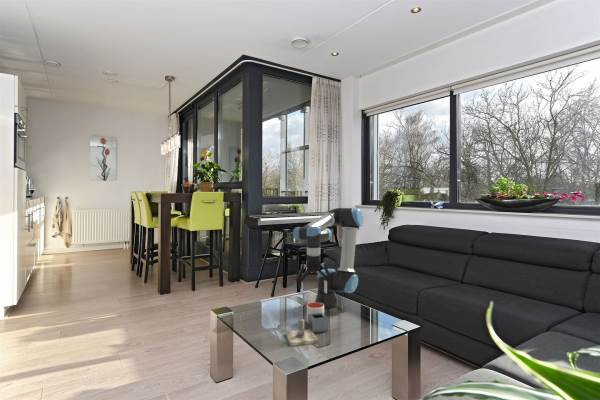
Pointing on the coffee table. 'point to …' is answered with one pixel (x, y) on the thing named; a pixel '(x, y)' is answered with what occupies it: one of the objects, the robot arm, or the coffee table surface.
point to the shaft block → (301, 335)
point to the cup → (314, 308)
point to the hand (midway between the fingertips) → (313, 293)
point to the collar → (318, 322)
